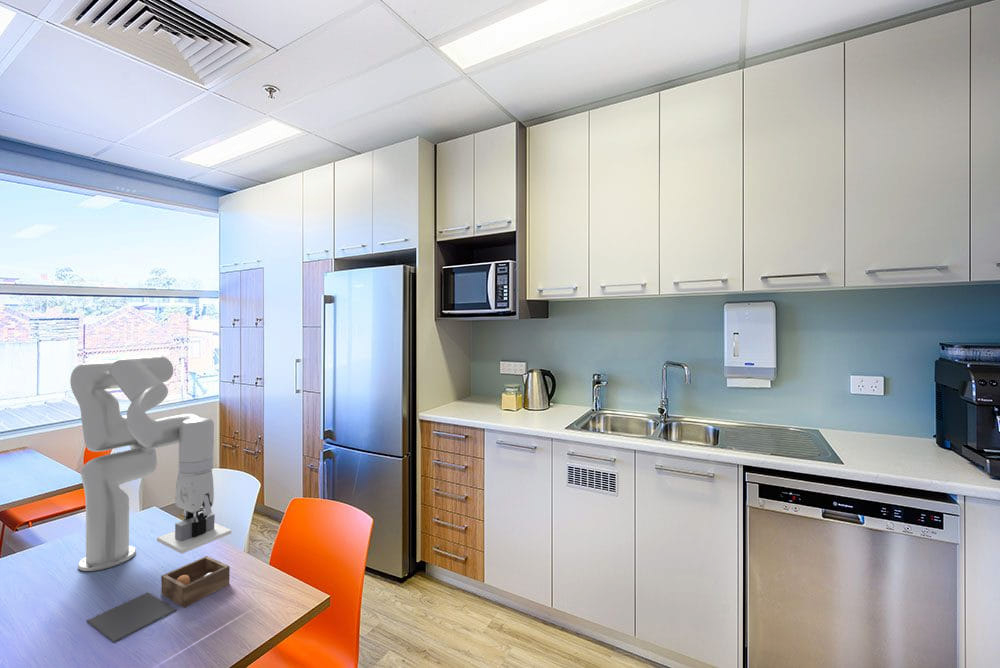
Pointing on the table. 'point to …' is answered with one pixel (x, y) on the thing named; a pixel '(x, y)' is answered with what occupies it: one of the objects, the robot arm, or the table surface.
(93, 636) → the table surface
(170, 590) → the box
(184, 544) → the lid
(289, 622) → the table surface
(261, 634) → the table surface
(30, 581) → the table surface
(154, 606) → the mat
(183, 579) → the orange ball
